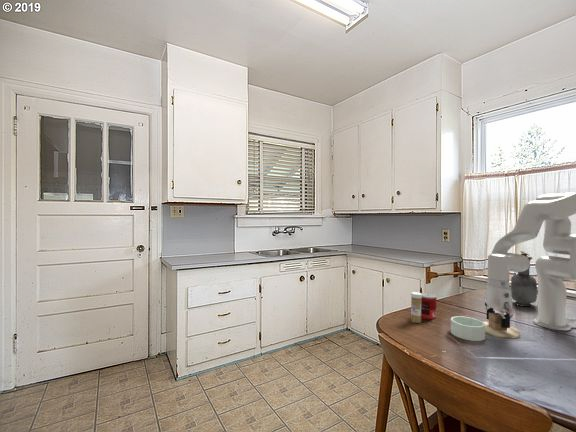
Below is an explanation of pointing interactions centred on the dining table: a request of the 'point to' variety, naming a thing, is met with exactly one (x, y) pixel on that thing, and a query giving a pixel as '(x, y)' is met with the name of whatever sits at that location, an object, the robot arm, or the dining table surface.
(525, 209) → the robot arm
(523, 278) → the grey vase
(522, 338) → the mat
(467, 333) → the bowl
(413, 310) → the sprinkles bottle
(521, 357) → the dining table surface
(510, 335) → the lid
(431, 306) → the canned food
